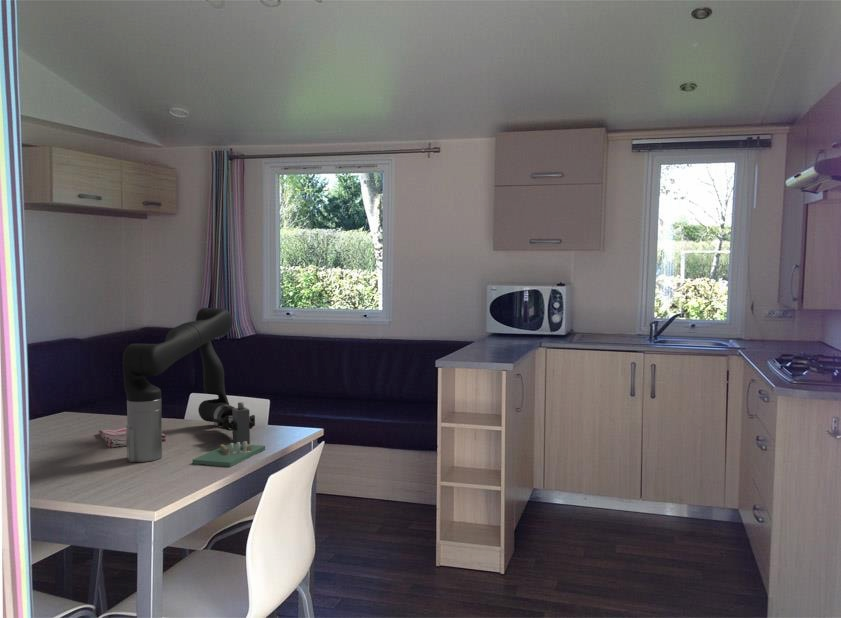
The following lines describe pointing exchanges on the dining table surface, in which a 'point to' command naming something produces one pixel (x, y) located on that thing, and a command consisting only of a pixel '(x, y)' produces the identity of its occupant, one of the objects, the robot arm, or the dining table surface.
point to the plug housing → (241, 424)
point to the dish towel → (117, 437)
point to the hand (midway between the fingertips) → (243, 426)
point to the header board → (229, 454)
